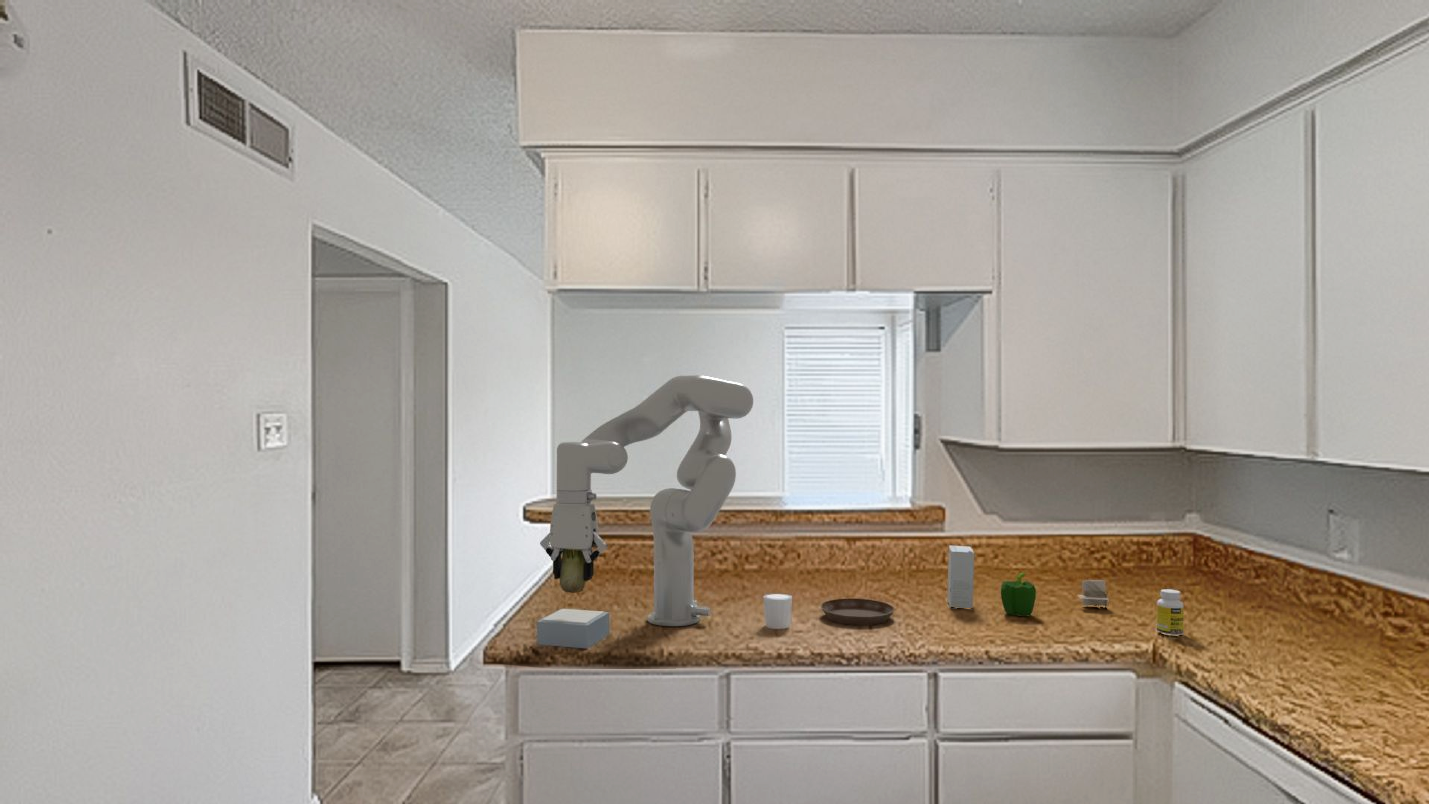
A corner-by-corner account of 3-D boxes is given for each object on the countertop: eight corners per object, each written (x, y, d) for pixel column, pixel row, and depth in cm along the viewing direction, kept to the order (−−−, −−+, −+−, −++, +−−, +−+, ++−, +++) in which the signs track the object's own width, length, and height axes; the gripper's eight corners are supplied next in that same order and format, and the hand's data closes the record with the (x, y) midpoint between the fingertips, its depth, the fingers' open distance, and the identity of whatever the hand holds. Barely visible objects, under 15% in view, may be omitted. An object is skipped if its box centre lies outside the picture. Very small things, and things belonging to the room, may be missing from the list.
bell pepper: (1018, 620, 220) (1018, 578, 220) (994, 612, 227) (994, 572, 227) (1044, 616, 223) (1044, 575, 223) (1019, 609, 231) (1020, 569, 231)
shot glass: (762, 622, 218) (762, 592, 218) (791, 622, 218) (791, 593, 218) (763, 629, 211) (763, 599, 211) (793, 629, 211) (793, 599, 211)
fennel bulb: (589, 593, 202) (589, 538, 202) (570, 596, 198) (571, 541, 198) (573, 589, 206) (574, 535, 206) (555, 592, 203) (555, 538, 203)
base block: (609, 634, 207) (609, 611, 207) (587, 648, 195) (587, 623, 195) (560, 630, 210) (560, 607, 210) (536, 644, 198) (536, 620, 198)
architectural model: (1109, 613, 229) (1109, 583, 229) (1080, 612, 230) (1080, 582, 230) (1106, 609, 232) (1106, 580, 232) (1077, 608, 234) (1077, 579, 233)
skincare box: (947, 601, 240) (947, 545, 239) (970, 602, 239) (971, 545, 239) (950, 609, 231) (950, 550, 231) (974, 609, 230) (974, 551, 230)
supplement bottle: (1171, 638, 203) (1171, 594, 203) (1151, 632, 208) (1151, 589, 208) (1188, 635, 206) (1189, 592, 206) (1168, 630, 211) (1168, 587, 211)
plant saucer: (905, 626, 215) (905, 613, 215) (832, 629, 212) (832, 616, 212) (879, 609, 232) (879, 597, 232) (812, 611, 230) (812, 599, 229)
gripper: (616, 497, 203) (616, 578, 203) (545, 494, 208) (545, 573, 208) (603, 501, 196) (602, 584, 196) (530, 498, 201) (529, 579, 201)
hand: (573, 578), depth 202 cm, fingers closed on fennel bulb, 6 cm apart
